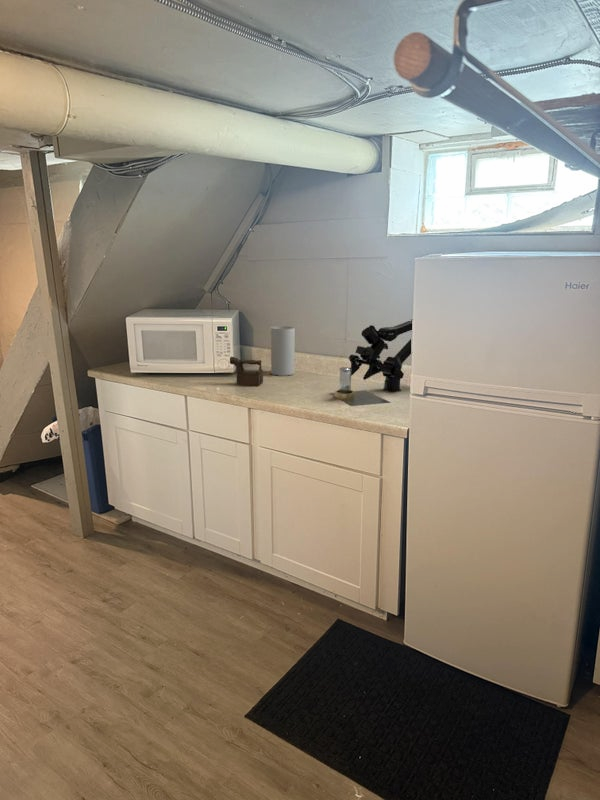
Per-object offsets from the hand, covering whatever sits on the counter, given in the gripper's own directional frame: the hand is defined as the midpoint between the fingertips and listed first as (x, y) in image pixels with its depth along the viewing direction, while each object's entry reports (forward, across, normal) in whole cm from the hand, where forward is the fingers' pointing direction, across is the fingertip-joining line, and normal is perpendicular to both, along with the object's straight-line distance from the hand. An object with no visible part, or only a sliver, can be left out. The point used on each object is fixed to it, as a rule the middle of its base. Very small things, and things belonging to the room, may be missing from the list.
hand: (356, 377), depth 248 cm
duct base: (+8, +4, +4) cm, 10 cm away
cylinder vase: (+4, -61, +9) cm, 62 cm away
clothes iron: (+24, -51, -11) cm, 58 cm away
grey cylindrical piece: (+10, 0, +1) cm, 11 cm away
